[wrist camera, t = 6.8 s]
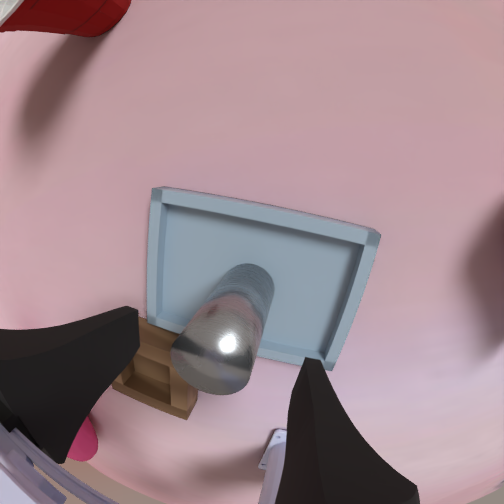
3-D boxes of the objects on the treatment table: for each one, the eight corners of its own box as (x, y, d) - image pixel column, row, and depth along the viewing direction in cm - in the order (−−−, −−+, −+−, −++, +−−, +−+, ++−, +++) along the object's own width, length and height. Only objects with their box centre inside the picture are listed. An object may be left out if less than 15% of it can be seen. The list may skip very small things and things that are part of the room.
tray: (330, 357, 19) (331, 371, 17) (157, 313, 21) (147, 322, 19) (374, 229, 16) (381, 234, 14) (164, 186, 17) (152, 188, 16)
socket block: (197, 400, 23) (187, 420, 20) (126, 372, 24) (112, 388, 21) (201, 337, 20) (188, 358, 18) (118, 308, 21) (100, 323, 19)
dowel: (261, 318, 18) (232, 405, 11) (216, 297, 18) (163, 371, 11) (283, 277, 17) (264, 357, 9) (234, 254, 17) (181, 316, 10)
